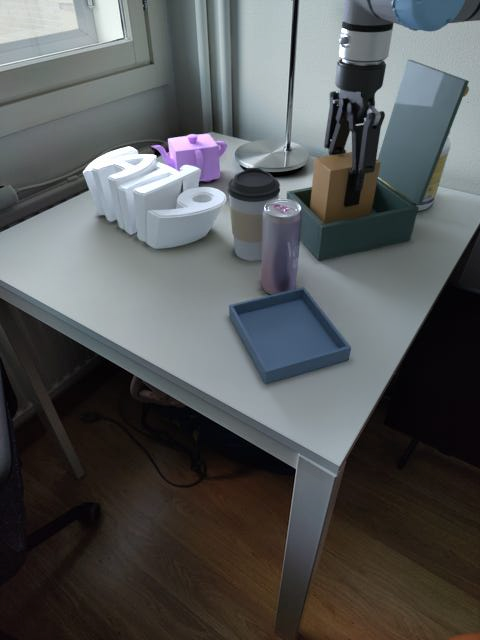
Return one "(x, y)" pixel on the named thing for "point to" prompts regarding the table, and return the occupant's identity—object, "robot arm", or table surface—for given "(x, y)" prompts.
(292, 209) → the beverage can
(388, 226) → the box
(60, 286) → the table surface
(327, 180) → the packet
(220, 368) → the table surface
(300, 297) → the tray
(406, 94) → the lid
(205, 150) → the teapot
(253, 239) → the coffee cup
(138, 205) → the white letter sculpture
